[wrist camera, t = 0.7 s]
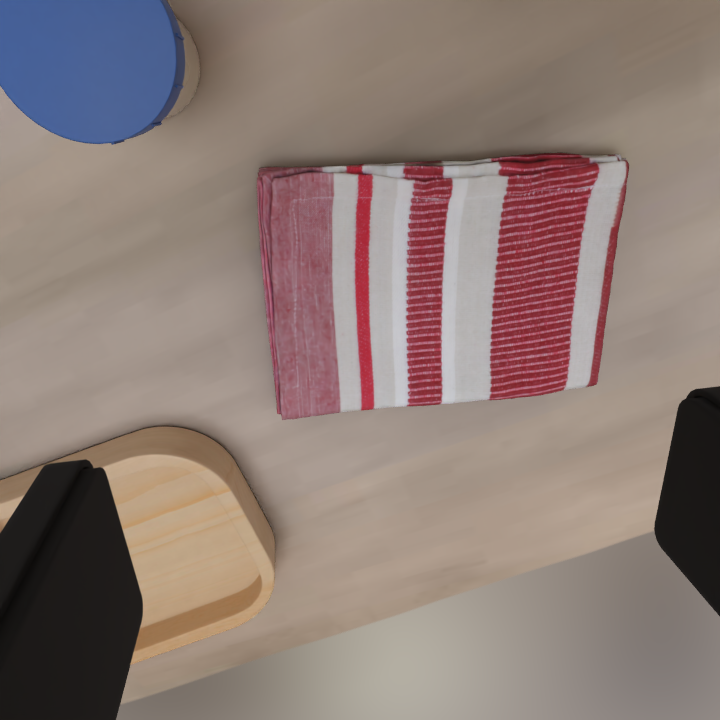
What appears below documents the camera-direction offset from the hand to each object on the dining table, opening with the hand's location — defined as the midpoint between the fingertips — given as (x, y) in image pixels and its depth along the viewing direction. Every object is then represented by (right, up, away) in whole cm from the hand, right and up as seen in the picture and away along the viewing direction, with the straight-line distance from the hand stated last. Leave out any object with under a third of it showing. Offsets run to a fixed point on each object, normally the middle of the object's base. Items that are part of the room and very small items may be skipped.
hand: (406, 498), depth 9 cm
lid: (-11, +14, +12) cm, 22 cm away
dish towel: (+5, +7, +30) cm, 31 cm away
